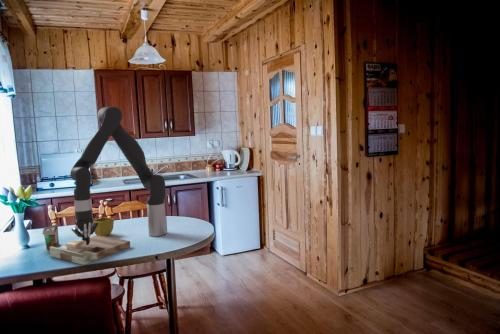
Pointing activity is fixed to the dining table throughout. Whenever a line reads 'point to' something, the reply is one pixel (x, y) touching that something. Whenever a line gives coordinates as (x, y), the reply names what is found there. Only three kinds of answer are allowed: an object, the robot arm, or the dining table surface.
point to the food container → (51, 236)
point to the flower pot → (104, 226)
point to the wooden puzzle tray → (91, 250)
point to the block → (76, 245)
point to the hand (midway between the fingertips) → (86, 244)
